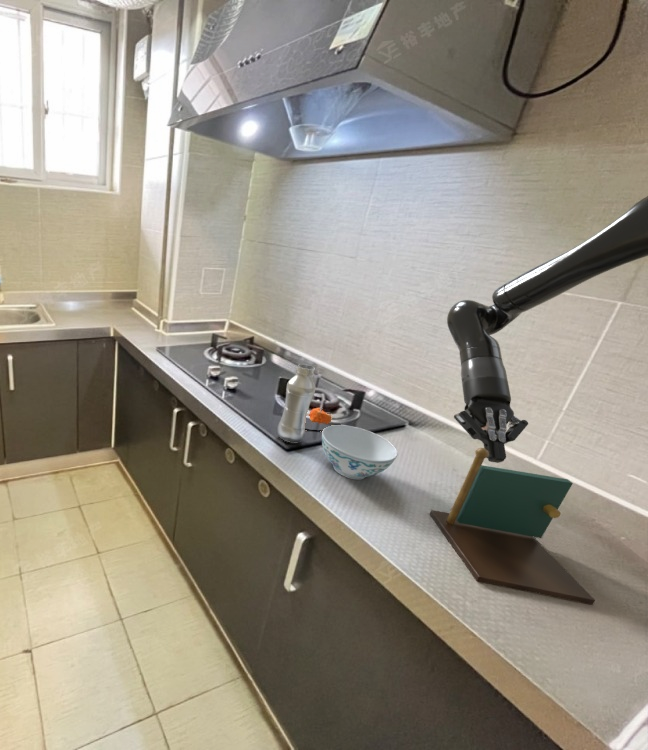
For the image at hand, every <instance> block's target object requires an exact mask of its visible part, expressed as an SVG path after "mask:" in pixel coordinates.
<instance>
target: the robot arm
mask: <svg viewBox="0 0 648 750" xmlns="http://www.w3.org/2000/svg"><path fill="white" fill-rule="evenodd" d="M646 257H648V195H647V196H646V197H643V198H642V199H640V200H639V201H638V202H636V203H635V204H633V205H632V206H631V207H630V208H629V209H628V210H627V211H626V212H625V213H623V214H622V215H621V216H619V217H618V218H617V219H615V220H613V221H612V222H611V223H610V224H608V225H607V226H606V227H604V228H603V229H602V230H600V231H599V232H597V233H596V234H594V235H593V236H590V238H588V239H586V240H585V241H583V242H582V243H580V244H578V245H577V246H575V247H573V248H571V249H569V250H567V251H566V252H564V253H561V254H559V255H558V256H556V257H553V258H552V259H549V260H548V261H545V262H543V263H541V264H538V265H537V266H534V267H533V268H530V269H529V270H527V271H525V272H524V273H521V274H520V275H518V276H517V277H515V278H513V279H511V280H509V281H508V282H506V283H504V284H502V285H501V286H499V287H497V288H496V289H495V290H494V291H493V292H492V295H491V299H492V302H493V304H492V305H486V304H484V303H480V302H478V301H475V300H471V299H464V300H460V301H458V302H456V303H454V304H453V305H452V306H451V307H450V309H449V310H448V313H447V316H446V323H447V327H448V331H449V333H450V335H451V337H452V339H453V342H454V343H455V345H456V347H457V349H458V351H459V360H460V379H461V380H460V381H461V386H462V395H463V401H464V404H465V406H464V408H463V409H464V410H462V411H460V412H458V413H456V414H454V415H453V419H454V420H455V421H456V422H457V423H458V424H459V425H460V427H462V428H463V430H465V432H466V433H467V434H468V435H469V436H470V438H472V439H473V440H477V441H480V442H481V443H482V444H483V448H484V449H486V450H487V451H488V452H489V455H488V457H487V458H486V459H487V460H488V462H491V463H497V464H498V463H503V462H504V461H505V460H506V458H507V454H506V447H505V445H506V444H508V443H511V442H514V441H516V439H517V438H518V437H519V436H520V435H521V433H522V432H524V430H525V429H526V427H528V425H529V422H528V420H526V419H522V420H521V419H519V418H518V417H517V416H516V415H515V412H514V410H513V409H512V408H511V402H512V396H511V391H510V386H509V380H508V375H507V371H506V366H505V365H504V362H503V357H502V351H501V346H500V343H499V342H498V340H497V338H496V339H495V338H494V337H493V336H492V335H495V334H496V333H498V332H500V331H501V330H503V329H504V328H505V327H507V326H509V324H511V323H512V322H514V321H515V320H516V319H517V318H518V317H519V316H520V315H521V314H523V313H525V312H527V311H529V310H532V309H534V308H536V307H538V306H540V305H542V304H544V303H546V302H549V301H550V300H552V299H554V298H556V297H558V296H560V295H562V294H564V293H566V292H568V291H569V290H571V289H574V288H575V287H577V286H579V285H582V284H583V283H585V282H587V281H589V280H591V279H592V278H596V277H597V276H600V275H602V274H604V273H607V272H608V271H612V270H613V269H615V268H619V267H621V266H623V265H626V264H628V263H629V264H630V263H632V262H634V261H637V260H640V259H642V258H643V259H644V258H646ZM507 426H508V427H507Z"/></svg>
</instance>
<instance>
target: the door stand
mask: <svg viewBox="0 0 648 750" xmlns="http://www.w3.org/2000/svg"><path fill="white" fill-rule="evenodd" d="M474 454H475V457H474V459H473V460H472V463H471V465H470V468H469V469H468V471H467V474H466V476H465V479H464V481H463V483H462V485H461V488H460V489H459V492H458V494H457V496H456V498H455V501H454V503H453V506H452V507H451V509H450V512H446V511H440V510H435V509H430V511H429V516H430V517H431V518H432V520H433V521H434V523H435V524H436V526H437V527H438V528H439V530H440V531H441V532H442V534H443V535H444V537H445V538H446V540H447V542H448V543H449V544H450V545H451V547H452V549H454V551H455V553H456V554H457V555H458V557H459V558H460V560H461V561H462V562H463V564H464V565H465V567H466V568H467V569H468V572H469V573H470V574H471V575H472V577H473V578H474V580H475V581H476V582H479V583H484V584H490V585H494V586H499V587H504V588H507V589H513V590H519V591H522V592H529V593H533V594H538V595H543V596H548V597H552V598H556V599H557V598H558V599H561V600H562V599H563V600H566V601H572V602H576V603H581V604H582V603H583V604H587V605H591V606H593V605H594V603H595V602H596V599H595V598H594V597H593V596H592V595H591V594H590V593H589V591H587V590H586V589H585V588H584V587H583V586H582V585H581V583H579V581H577V580H576V579H575V578H574V576H572V575H571V573H570V572H568V570H566V569H565V568H564V567H563V565H561V564H560V562H558V560H556V558H555V557H553V555H552V554H551V553H550V552H548V550H547V549H546V548H545V547H544V546H543V545H542V544H541V543H540V542H539V541H538V540H537V539H536V537H532V536H527V535H521V534H516V533H510V532H505V531H500V530H494V529H489V528H483V527H478V526H473V525H467V524H462V523H459V522H458V521H457V520H456V519H457V517H458V514H459V512H460V510H461V508H462V506H463V504H464V502H465V499H466V497H467V495H468V493H469V491H470V489H471V487H472V484H473V482H474V480H475V478H476V476H477V474H478V471H479V469H480V467H481V465H483V463H484V460H485V459H488V458H487V457H488V455H489V452H488V451H487V450H486V449H484V447H478V448H476V449H475V451H474Z"/></svg>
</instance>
